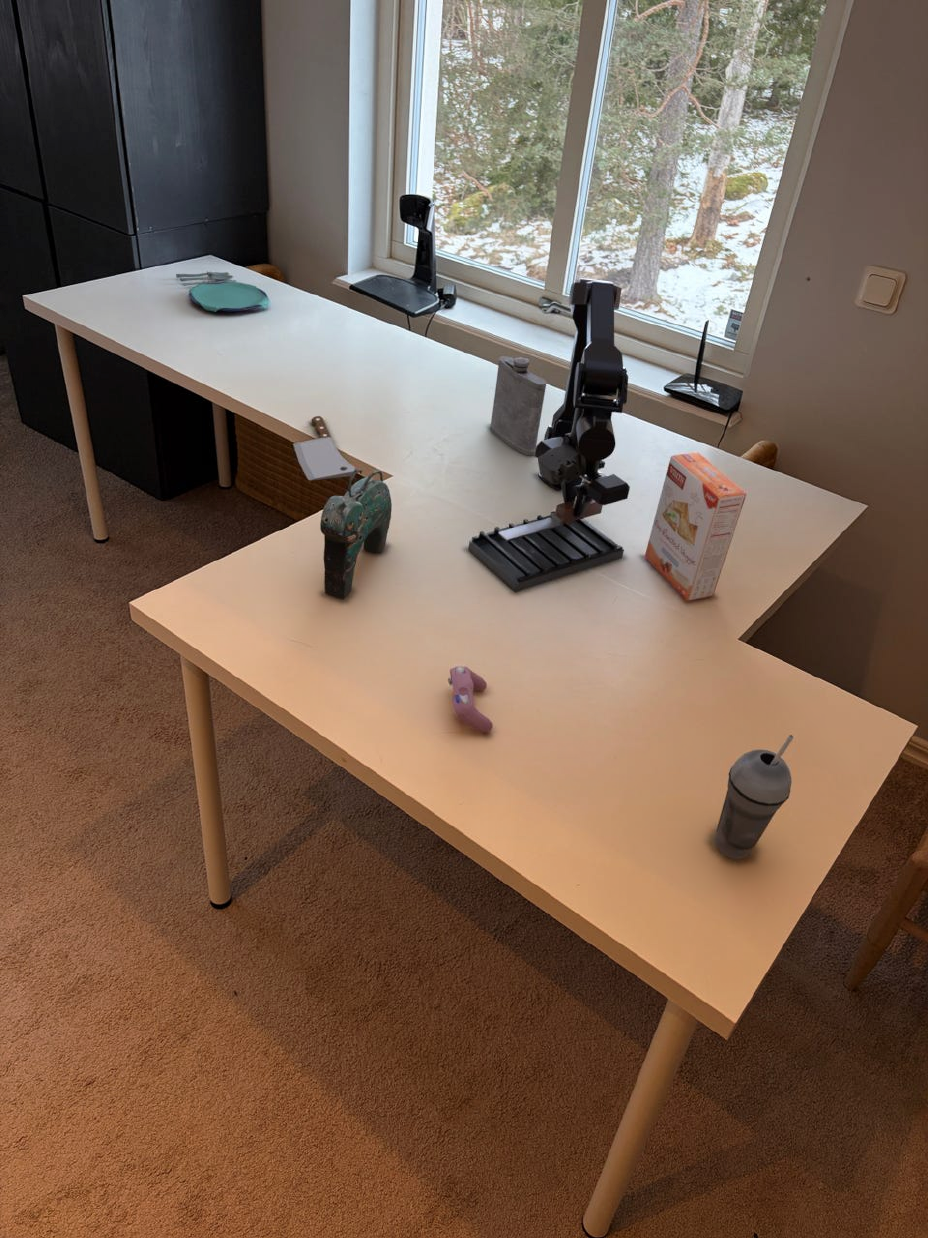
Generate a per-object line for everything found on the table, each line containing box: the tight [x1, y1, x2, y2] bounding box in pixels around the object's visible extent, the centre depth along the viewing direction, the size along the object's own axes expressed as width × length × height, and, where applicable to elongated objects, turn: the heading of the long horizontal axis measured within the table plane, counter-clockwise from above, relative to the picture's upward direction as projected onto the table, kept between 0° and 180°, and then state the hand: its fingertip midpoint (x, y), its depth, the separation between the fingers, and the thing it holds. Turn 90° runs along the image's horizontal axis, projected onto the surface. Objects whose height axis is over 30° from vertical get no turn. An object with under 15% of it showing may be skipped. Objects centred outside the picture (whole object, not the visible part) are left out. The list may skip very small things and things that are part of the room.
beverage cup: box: [714, 734, 794, 860], centre depth 113 cm, size 7×7×20 cm
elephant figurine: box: [319, 468, 393, 600], centre depth 152 cm, size 20×6×20 cm, turn 160°
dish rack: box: [467, 511, 625, 593], centre depth 167 cm, size 24×14×3 cm, turn 124°
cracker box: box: [644, 451, 747, 602], centre depth 160 cm, size 14×6×21 cm, turn 23°
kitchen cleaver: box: [292, 415, 356, 482], centre depth 189 cm, size 24×1×10 cm
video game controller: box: [447, 666, 494, 733], centre depth 132 cm, size 10×5×7 cm, turn 5°
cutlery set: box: [175, 271, 270, 313], centre depth 250 cm, size 20×30×2 cm, turn 30°
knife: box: [498, 499, 604, 541], centre depth 163 cm, size 21×3×3 cm, turn 124°
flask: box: [490, 355, 548, 456], centre depth 196 cm, size 4×14×18 cm, turn 34°
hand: (572, 512), depth 166 cm, fingers closed on knife, 2 cm apart
